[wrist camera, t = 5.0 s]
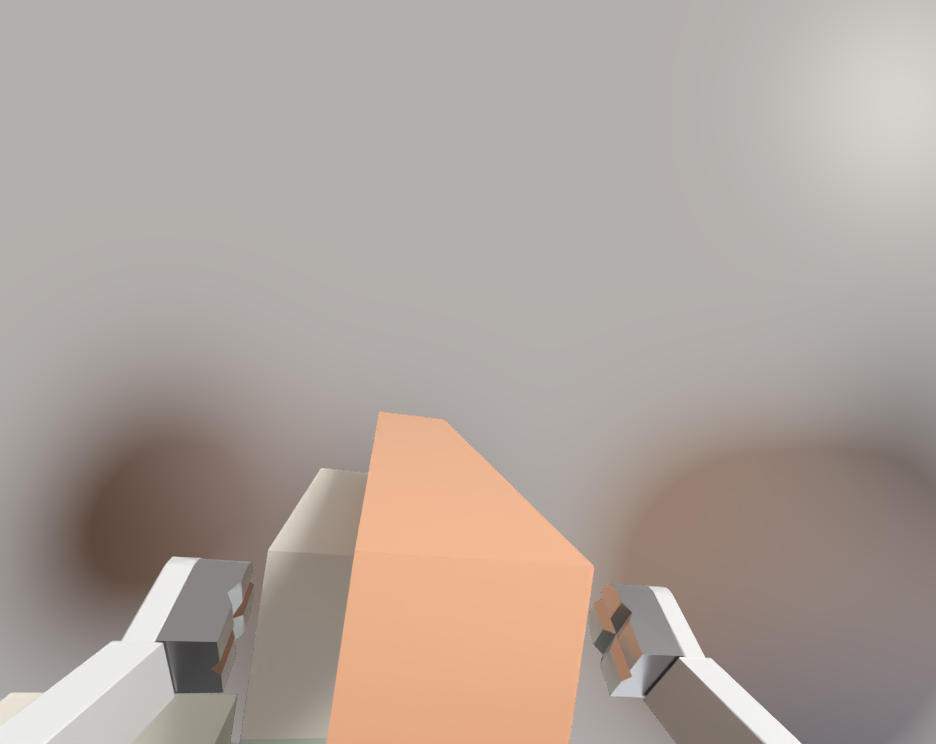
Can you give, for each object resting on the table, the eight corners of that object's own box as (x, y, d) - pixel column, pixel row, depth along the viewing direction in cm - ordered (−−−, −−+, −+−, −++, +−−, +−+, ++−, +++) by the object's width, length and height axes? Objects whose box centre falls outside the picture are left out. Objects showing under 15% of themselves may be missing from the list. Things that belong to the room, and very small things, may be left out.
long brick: (561, 801, 7) (594, 566, 7) (316, 811, 7) (354, 551, 7) (434, 483, 27) (444, 419, 27) (370, 476, 26) (379, 411, 26)
